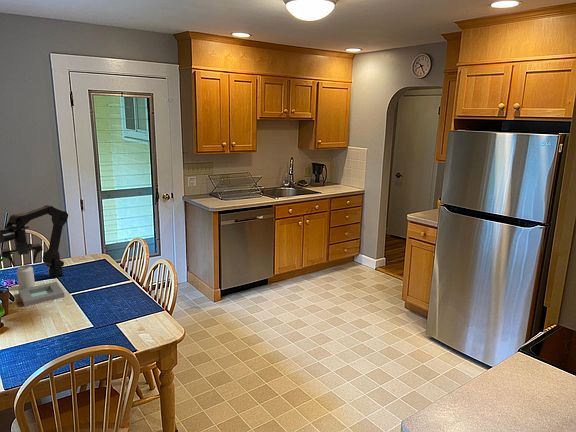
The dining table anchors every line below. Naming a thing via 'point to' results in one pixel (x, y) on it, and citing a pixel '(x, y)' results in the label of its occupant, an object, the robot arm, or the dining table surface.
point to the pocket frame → (41, 293)
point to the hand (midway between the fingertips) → (24, 265)
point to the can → (25, 276)
